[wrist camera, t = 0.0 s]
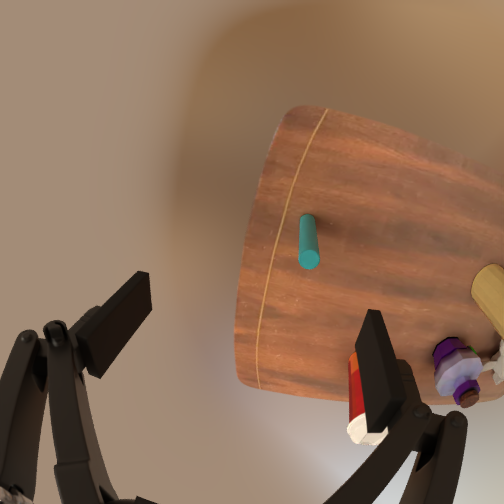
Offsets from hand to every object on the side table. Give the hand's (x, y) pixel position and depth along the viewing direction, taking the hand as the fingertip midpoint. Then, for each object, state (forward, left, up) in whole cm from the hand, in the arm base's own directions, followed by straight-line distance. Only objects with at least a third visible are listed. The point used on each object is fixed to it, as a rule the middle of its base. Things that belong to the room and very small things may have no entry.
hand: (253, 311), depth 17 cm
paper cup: (+26, +5, -20) cm, 33 cm away
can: (+20, +27, -20) cm, 39 cm away
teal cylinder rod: (+2, +3, -20) cm, 20 cm away
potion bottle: (+30, +19, -20) cm, 40 cm away
